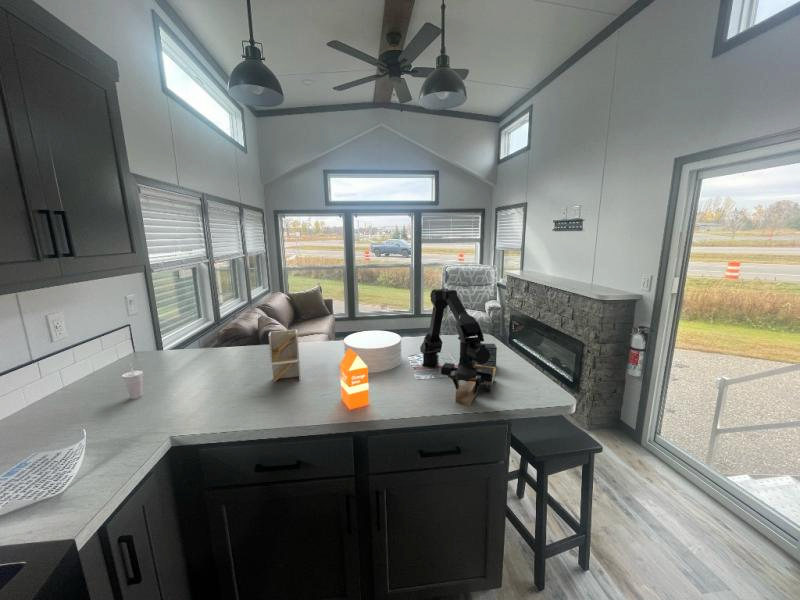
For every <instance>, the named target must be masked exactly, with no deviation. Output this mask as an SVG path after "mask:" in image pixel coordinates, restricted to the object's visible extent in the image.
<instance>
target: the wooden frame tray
mask: <svg viewBox="0 0 800 600" xmlns="http://www.w3.org/2000/svg"><path fill="white" fill-rule="evenodd" d="M475 368H476V369H477V371H482V369H483V368H486V369H492V370H493V371H494V373H493V379H492V382H486V381H484V383H480V385H486V386H487V389H486V390H487V393H492V390H493V383H494V382H495V380H496V373H497V366H496V367H488V366H481V365H475ZM476 379H477V376H476V378H473V379H472V378H471V379H470V381H473V382H476Z"/></svg>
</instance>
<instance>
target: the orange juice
mask: <svg viewBox="0 0 800 600" xmlns="http://www.w3.org/2000/svg"><path fill="white" fill-rule="evenodd" d="M344 355H345V356H344V357H343V358H342V360H341V361H340V363H339V369H340V389H341V391H340V392H341V401H342V402H343V403H344V404H345V405H346V407H347V408H348V409H349V410H353V409H356V408H361V407H365V406H368V405H369V404H370V399H369V397H370V395H369V392H370V391H369V372H368V367H367V366H366V365H365V363H364V362H363V361H362V360H361V359H360V357H359V356H358V355H357V354H356V353H355V352H353V351H352V350H351V349H350V348H349V349H348V351H347V353H346V354H344Z"/></svg>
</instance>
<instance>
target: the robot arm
mask: <svg viewBox="0 0 800 600" xmlns="http://www.w3.org/2000/svg"><path fill="white" fill-rule="evenodd" d="M430 302H431V304H432V305H433V306H432V311H431V312H432V313H431V317H430V323H429V324H430V325H429V330H428V333H427V334H426V335H425V336H424V339H423V342H422V343H421V345H420V347H419V349H420V353H422V360H423V361H422V364H421V366H422V367H427V366H428V367H429V368H436V367H437V366H438V365H439V361H440V359H439V357H440V356H439V354H440V353H441V351H442V348H443V341H442V339H441V336H440V334H441V329H442V324H443V323H442V322H443V317H444V313H445V309H446V308H447V307H448V308H449V309H450V312H451V313H452V315H453V317H454V319H455V321H456V325H455V328H456V332H457V334H458V337H457V339H458V340H459V360H458V361H459V362H458V364H457V367H456V366H455V363H450V362H445V363H444V364H443V365H442V367H441V369H440V374H441V375H443V376H447V377H448V378H450V379H451V380H452V382H453V384H454V386H455V387H454V388H455V391H457V389H458V388H459V386H460V381H463V380H464V381H470V379H471V378H472V379H473V378H476V376H477V379H476V384H475V390H474V395H475V396H476V394H477V392H478V389H479V387H480V385H481V384H480V383H484V381H486V382H492V379H493V373H494V371H493V370H492V369H486V368H483V369H482V371H477V369H476V368H475V361H476V362H477V363H479V364H485V363H486V362H487V361H488V360H489V358H490V352H489V350H488V349H486V348H485V344H486V343H483V344H482V342H485V339H484V337H485V336H484V334H483V332H482V329H481V325H479V322H478V321H477V320H476V318H475V317H474V316H472V315H470V314H469V313H468V311H467V309H466V308H465V306H464V305H463V303H462V301H461V300H460V298H459V296H458V292H457V290H456V289H453V288H452V289H449V288H434V289H432V290H431V292H430ZM436 365H437V366H436Z"/></svg>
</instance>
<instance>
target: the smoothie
mask: <svg viewBox="0 0 800 600" xmlns="http://www.w3.org/2000/svg"><path fill="white" fill-rule="evenodd" d="M129 365H130V370H131V371H129V372H126V373H123V374H122V375H121V379H122V380H123V382H124V384H125V388H126V389H127V393H128V395H129V397H130V400H137V399H140V398H142V397H143V375H144V371H142V370H134V368H133V363H132V362H131V363H129Z"/></svg>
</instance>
